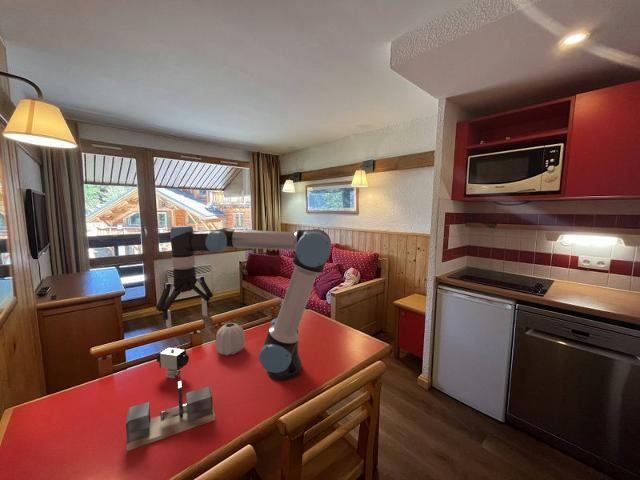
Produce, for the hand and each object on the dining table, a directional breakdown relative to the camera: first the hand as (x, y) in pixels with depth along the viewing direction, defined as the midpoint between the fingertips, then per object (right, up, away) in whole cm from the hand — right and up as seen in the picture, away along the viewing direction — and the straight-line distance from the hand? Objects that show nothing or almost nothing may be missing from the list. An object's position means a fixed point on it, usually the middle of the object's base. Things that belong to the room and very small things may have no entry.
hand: (187, 321), depth 102 cm
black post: (+6, -27, -14) cm, 31 cm away
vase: (+7, -24, +29) cm, 38 cm away
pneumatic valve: (-10, -26, +9) cm, 29 cm away
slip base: (+3, -29, -16) cm, 33 cm away
